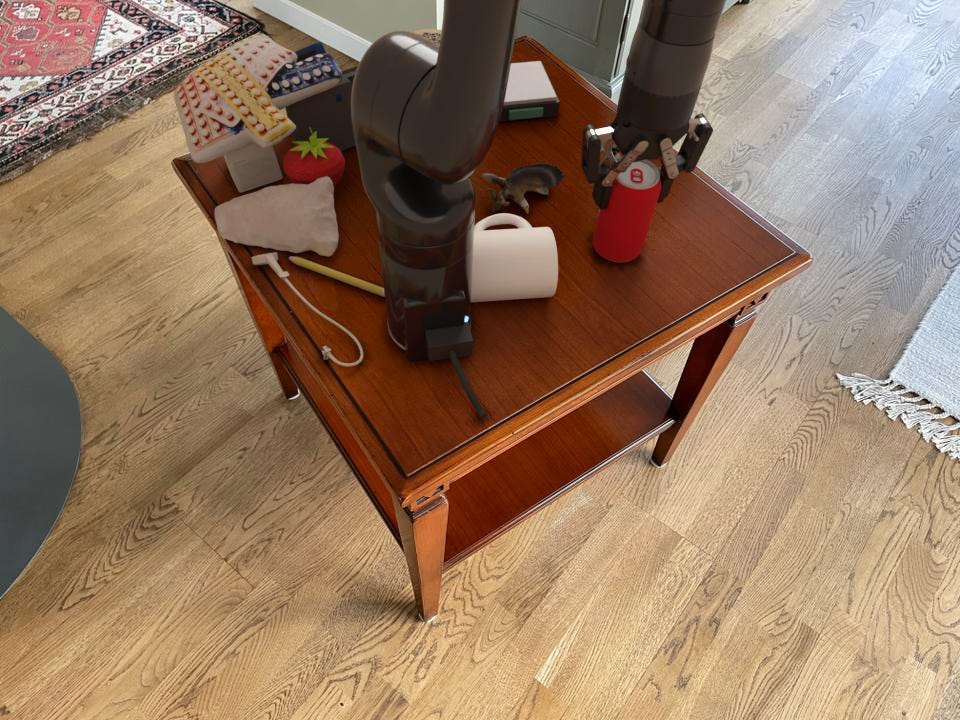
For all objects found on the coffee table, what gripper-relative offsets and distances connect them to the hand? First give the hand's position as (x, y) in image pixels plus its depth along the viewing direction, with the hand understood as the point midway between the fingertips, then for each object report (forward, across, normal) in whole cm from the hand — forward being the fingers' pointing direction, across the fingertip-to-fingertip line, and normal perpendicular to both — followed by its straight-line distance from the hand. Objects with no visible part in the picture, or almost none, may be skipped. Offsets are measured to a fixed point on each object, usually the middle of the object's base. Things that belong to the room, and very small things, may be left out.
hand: (628, 201), depth 82 cm
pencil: (+8, -35, +1) cm, 35 cm away
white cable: (+8, -35, -13) cm, 38 cm away
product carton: (+8, -43, +22) cm, 49 cm away
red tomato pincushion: (+8, -35, +15) cm, 39 cm away
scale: (+8, -5, +32) cm, 33 cm away
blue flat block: (0, -33, +31) cm, 45 cm away
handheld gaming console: (+8, -27, +27) cm, 39 cm away
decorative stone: (+5, -33, +8) cm, 34 cm away
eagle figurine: (+8, -10, +10) cm, 16 cm away
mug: (+8, -15, -2) cm, 17 cm away
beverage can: (+8, 0, 0) cm, 8 cm away
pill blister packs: (-3, -37, +15) cm, 40 cm away
